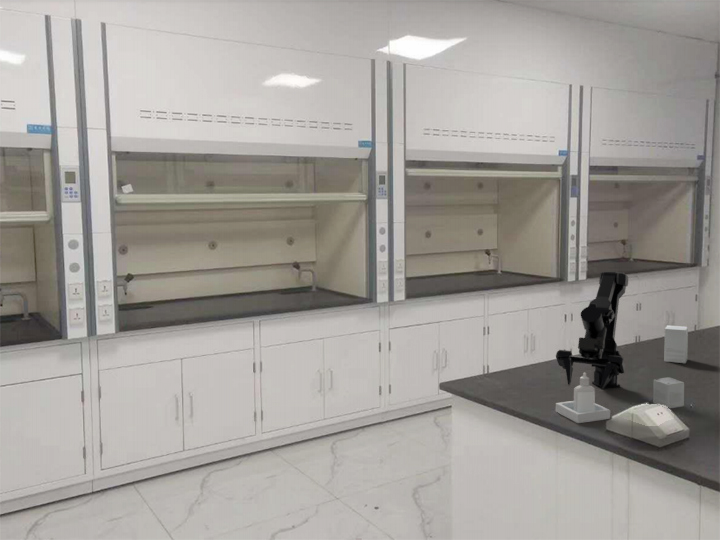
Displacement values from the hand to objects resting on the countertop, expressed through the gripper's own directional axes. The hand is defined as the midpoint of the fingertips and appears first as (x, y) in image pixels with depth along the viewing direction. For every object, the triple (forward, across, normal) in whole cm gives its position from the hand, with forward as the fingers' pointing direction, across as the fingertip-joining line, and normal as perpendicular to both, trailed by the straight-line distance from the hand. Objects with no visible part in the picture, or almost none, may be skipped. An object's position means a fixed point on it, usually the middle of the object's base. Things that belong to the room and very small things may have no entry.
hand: (585, 386), depth 183 cm
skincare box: (-7, +20, +18) cm, 28 cm away
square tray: (+8, 0, +3) cm, 8 cm away
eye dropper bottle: (+7, 0, +3) cm, 8 cm away
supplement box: (-46, +16, +59) cm, 77 cm away
